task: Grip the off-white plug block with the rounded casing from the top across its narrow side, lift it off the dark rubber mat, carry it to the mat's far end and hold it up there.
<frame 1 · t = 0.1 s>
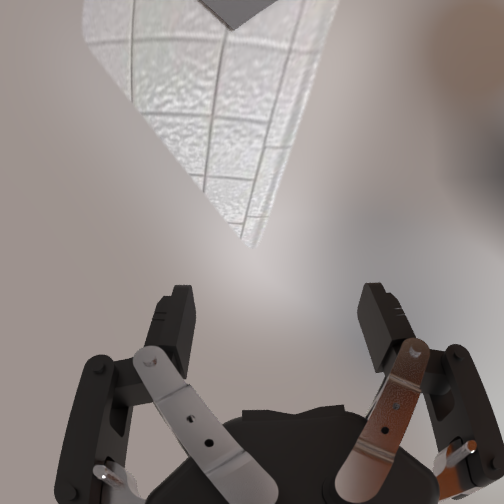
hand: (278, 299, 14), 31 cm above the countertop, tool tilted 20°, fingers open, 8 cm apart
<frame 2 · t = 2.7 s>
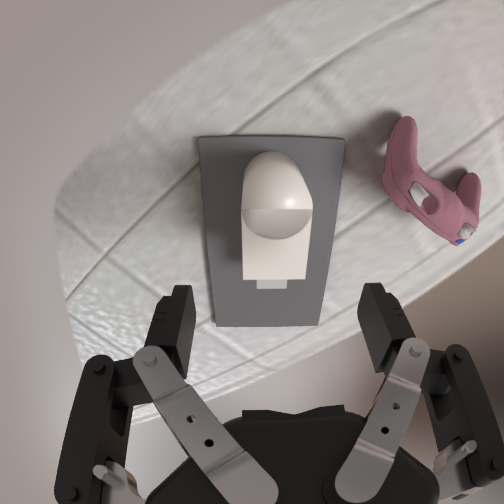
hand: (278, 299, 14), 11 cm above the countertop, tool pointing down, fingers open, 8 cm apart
rubber mat: (270, 246, 25), on the countertop
video game controller: (422, 171, 21), on the countertop
plug block: (271, 203, 22), resting on rubber mat
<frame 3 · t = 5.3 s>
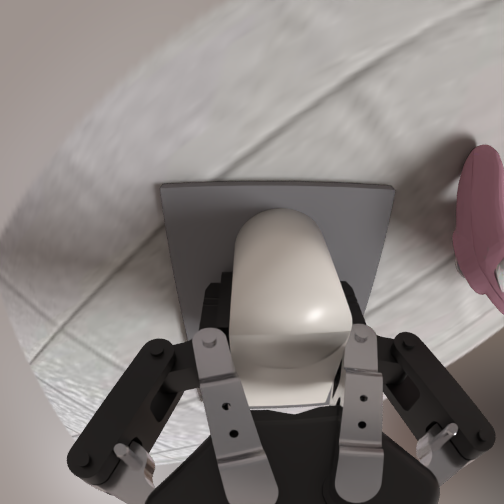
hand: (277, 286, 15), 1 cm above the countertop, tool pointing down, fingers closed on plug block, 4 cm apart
rubber mat: (273, 330, 17), on the countertop
video game controller: (488, 219, 14), on the countertop
plug block: (277, 283, 15), point 1 cm above the countertop, touching gripper, rubber mat
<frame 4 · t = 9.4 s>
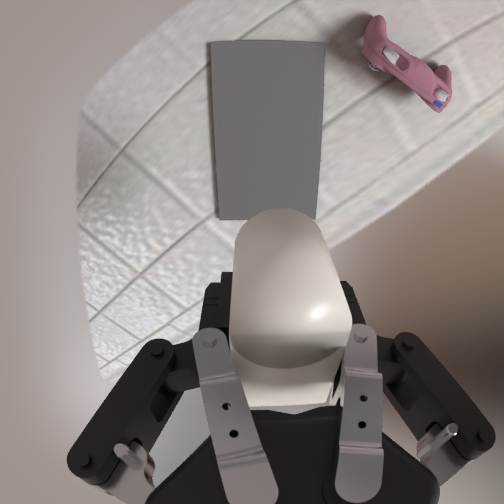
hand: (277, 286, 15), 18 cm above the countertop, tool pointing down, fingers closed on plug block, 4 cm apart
rubber mat: (268, 133, 27), on the countertop
video game controller: (398, 62, 23), on the countertop
plug block: (277, 283, 15), point 17 cm above the countertop, touching gripper
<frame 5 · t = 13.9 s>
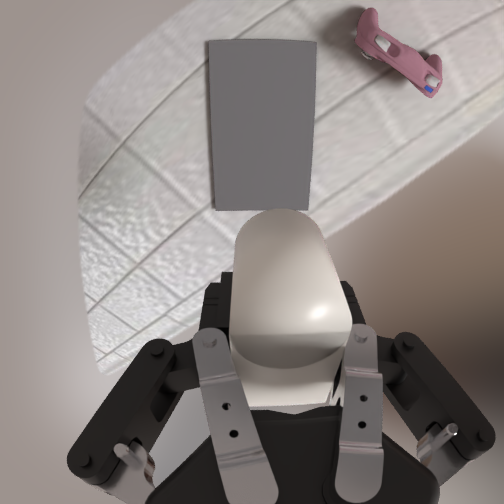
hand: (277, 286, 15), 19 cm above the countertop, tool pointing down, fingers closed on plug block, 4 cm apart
rubber mat: (262, 127, 28), on the countertop
video game controller: (390, 52, 24), on the countertop
plug block: (277, 283, 15), point 19 cm above the countertop, touching gripper
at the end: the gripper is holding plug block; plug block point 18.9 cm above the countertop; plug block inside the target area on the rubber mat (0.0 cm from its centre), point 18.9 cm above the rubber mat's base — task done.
